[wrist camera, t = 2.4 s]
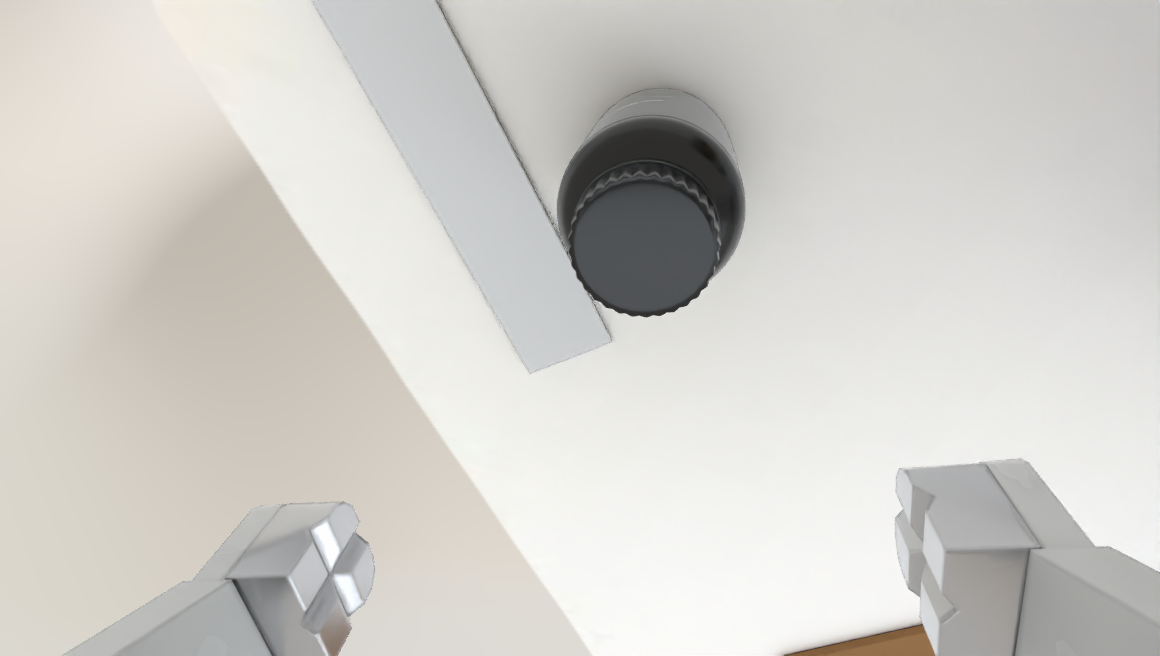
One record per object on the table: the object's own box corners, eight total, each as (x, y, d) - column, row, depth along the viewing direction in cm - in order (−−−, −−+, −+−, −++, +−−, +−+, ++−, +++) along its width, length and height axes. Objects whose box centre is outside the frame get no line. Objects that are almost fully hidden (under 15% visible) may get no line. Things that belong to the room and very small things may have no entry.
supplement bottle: (637, 54, 29) (613, 86, 19) (762, 140, 30) (809, 218, 19) (558, 183, 32) (499, 276, 22) (675, 258, 33) (673, 382, 22)
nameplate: (393, -83, 28) (302, -23, 29) (390, -84, 28) (298, -24, 29) (611, 338, 35) (530, 370, 37) (611, 341, 35) (529, 373, 37)
